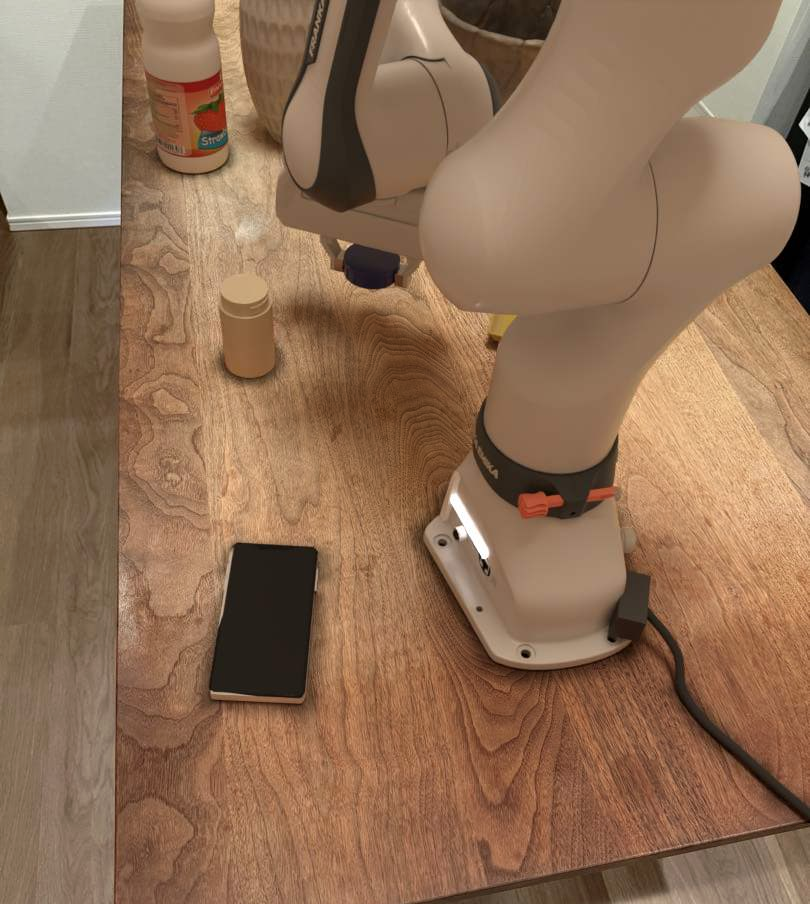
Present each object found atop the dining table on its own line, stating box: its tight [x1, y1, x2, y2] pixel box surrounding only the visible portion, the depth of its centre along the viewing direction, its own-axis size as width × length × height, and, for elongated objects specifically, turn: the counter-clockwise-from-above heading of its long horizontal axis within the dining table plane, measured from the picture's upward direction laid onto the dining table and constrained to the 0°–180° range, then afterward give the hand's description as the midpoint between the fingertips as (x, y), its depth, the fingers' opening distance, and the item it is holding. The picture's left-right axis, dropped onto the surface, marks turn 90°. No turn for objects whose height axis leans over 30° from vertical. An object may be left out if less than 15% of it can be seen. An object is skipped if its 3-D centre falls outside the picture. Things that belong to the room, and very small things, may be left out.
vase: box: [238, 0, 315, 145], centre depth 111 cm, size 13×13×28 cm
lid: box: [342, 243, 401, 291], centre depth 94 cm, size 6×6×2 cm
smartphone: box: [208, 541, 319, 705], centre depth 75 cm, size 8×1×15 cm
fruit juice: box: [134, 0, 230, 174], centre depth 106 cm, size 9×9×28 cm
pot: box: [438, 0, 561, 108], centre depth 114 cm, size 25×24×21 cm
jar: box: [217, 272, 276, 379], centre depth 91 cm, size 5×5×10 cm
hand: (370, 276), depth 95 cm, fingers closed on lid, 6 cm apart
